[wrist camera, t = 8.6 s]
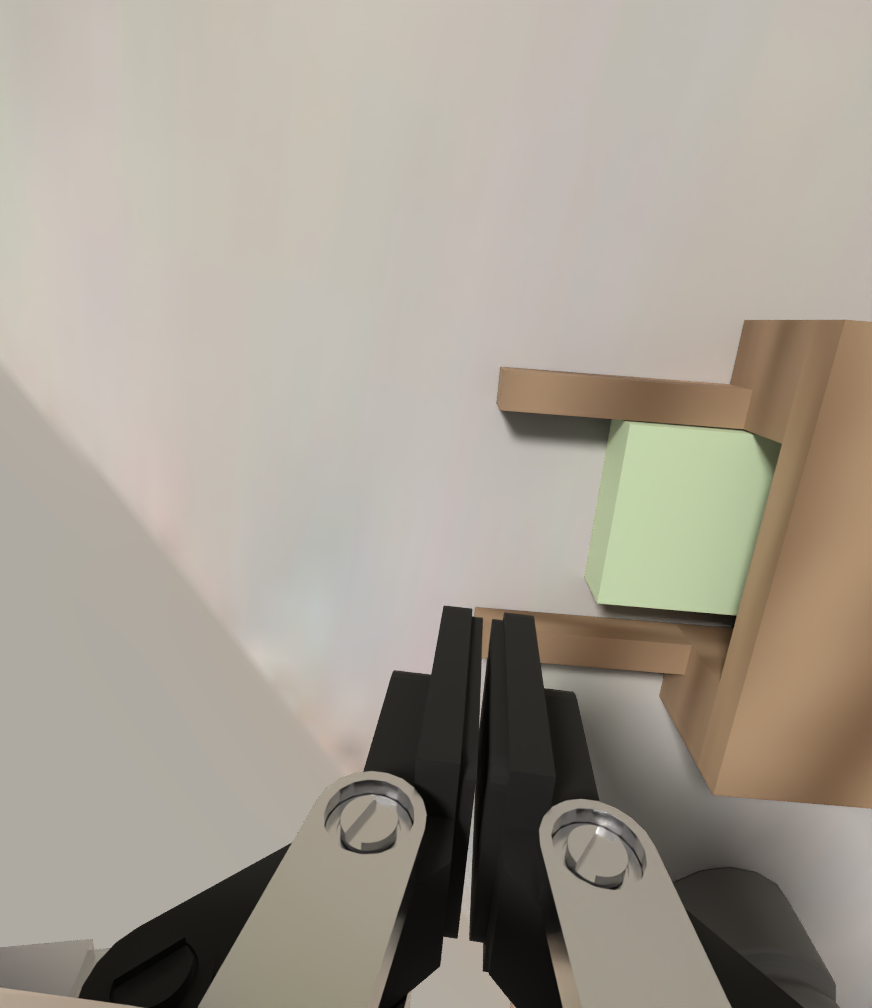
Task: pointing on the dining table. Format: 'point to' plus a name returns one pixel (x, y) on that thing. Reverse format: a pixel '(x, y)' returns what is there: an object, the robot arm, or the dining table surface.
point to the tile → (678, 515)
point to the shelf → (756, 567)
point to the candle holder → (760, 930)
